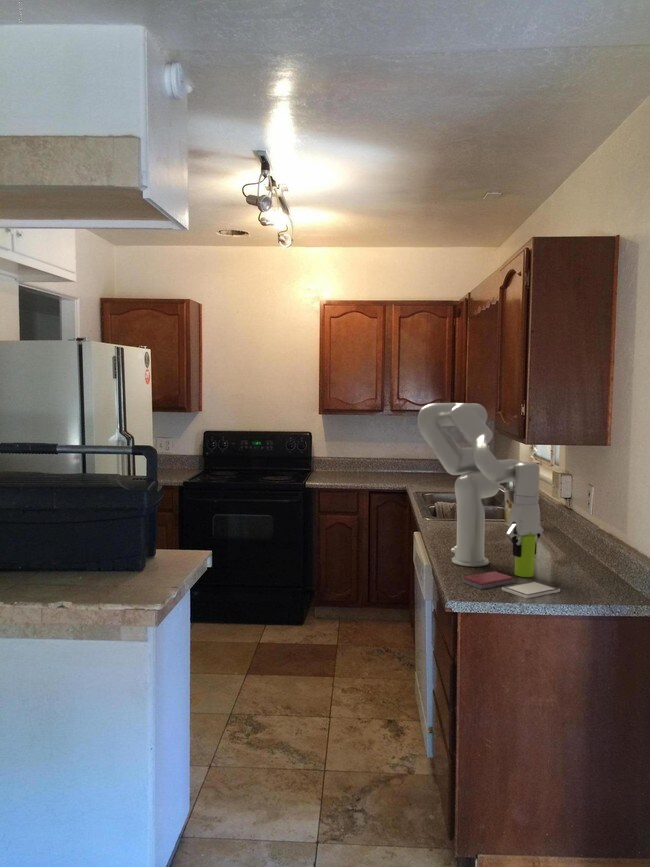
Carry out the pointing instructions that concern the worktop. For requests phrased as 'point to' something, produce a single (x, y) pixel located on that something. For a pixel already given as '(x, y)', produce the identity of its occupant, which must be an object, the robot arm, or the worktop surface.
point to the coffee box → (508, 504)
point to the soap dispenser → (526, 556)
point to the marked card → (530, 589)
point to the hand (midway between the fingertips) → (524, 554)
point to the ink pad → (488, 580)
